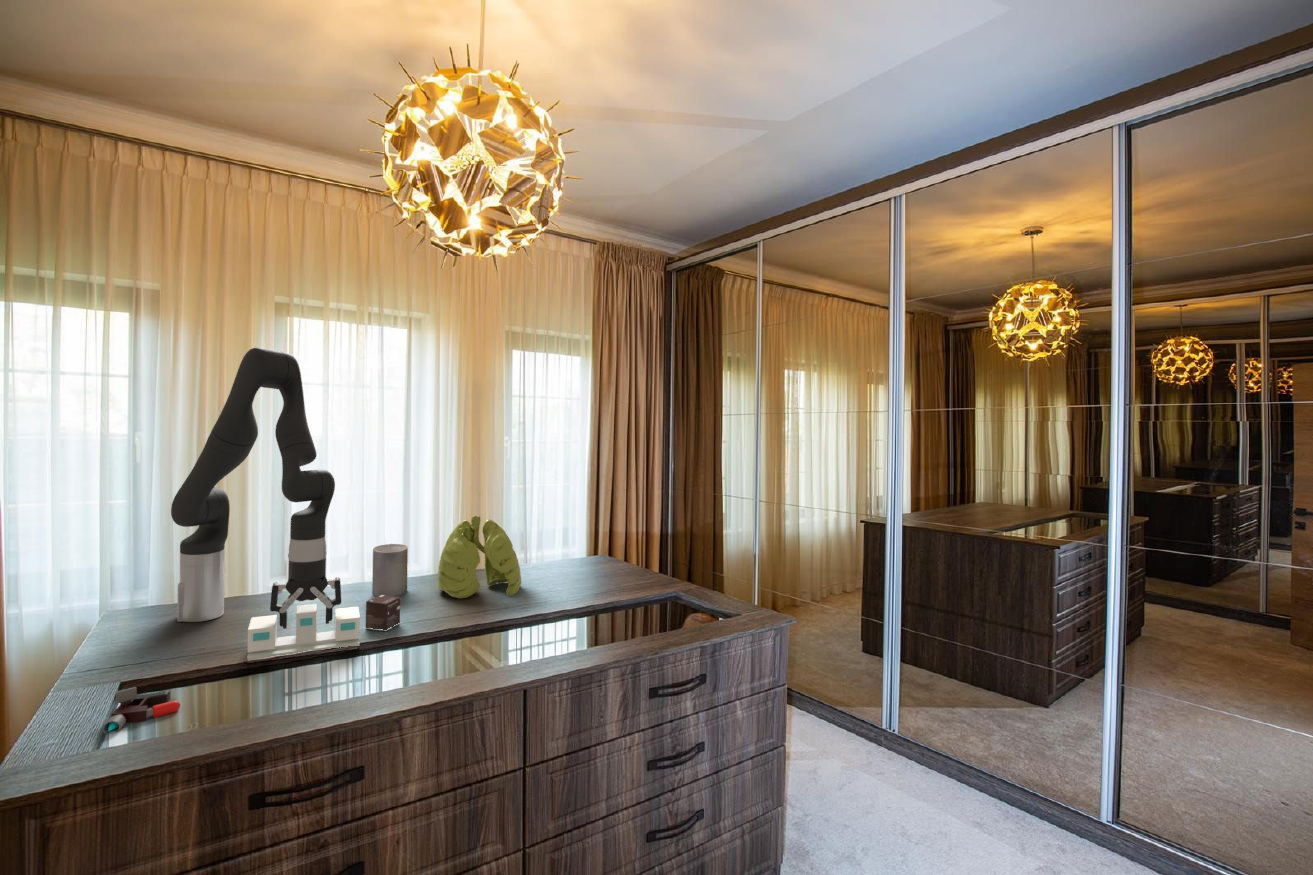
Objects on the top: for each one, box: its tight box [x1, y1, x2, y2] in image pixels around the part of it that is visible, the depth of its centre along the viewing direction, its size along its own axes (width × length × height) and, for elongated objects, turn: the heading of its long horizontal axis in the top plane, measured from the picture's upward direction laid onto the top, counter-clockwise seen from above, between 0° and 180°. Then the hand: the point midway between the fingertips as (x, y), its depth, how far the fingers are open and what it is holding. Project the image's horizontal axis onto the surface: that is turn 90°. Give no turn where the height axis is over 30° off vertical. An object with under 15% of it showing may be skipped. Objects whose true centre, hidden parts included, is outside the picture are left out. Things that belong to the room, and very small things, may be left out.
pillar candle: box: [371, 543, 409, 597], centre depth 184 cm, size 10×10×15 cm
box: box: [365, 595, 401, 630], centre depth 158 cm, size 6×6×7 cm
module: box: [295, 603, 318, 644], centre depth 142 cm, size 4×6×7 cm, turn 29°
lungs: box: [437, 515, 522, 600], centre depth 189 cm, size 25×16×24 cm, turn 111°
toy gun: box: [102, 686, 181, 735], centre depth 111 cm, size 10×12×5 cm
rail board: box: [246, 606, 361, 660], centre depth 142 cm, size 22×10×7 cm, turn 119°
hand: (306, 625), depth 142 cm, fingers open, 8 cm apart
